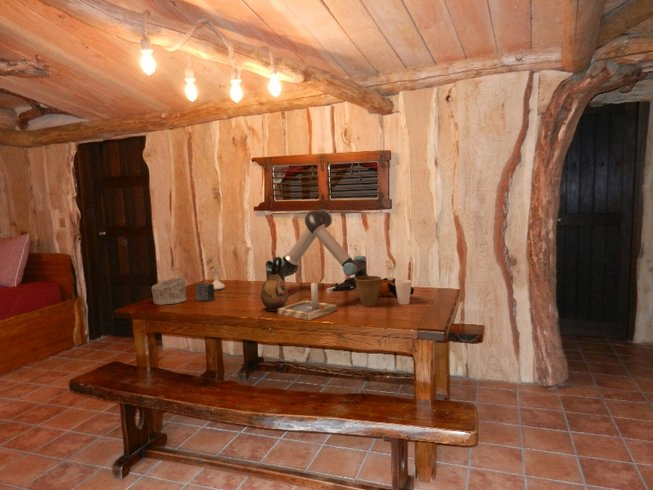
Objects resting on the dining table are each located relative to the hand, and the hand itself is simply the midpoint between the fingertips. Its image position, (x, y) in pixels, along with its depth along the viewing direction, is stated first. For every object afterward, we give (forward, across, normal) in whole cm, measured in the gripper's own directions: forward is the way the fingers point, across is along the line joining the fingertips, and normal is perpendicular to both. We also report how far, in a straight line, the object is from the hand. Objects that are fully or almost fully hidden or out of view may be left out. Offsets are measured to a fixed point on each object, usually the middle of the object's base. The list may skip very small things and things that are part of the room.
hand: (327, 291), depth 252 cm
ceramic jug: (+15, +26, -10) cm, 32 cm away
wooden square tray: (+12, +5, -10) cm, 17 cm away
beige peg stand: (+12, +5, -10) cm, 17 cm away
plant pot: (-18, -15, -10) cm, 26 cm away
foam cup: (-32, -30, -10) cm, 45 cm away
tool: (-42, -19, -10) cm, 47 cm away
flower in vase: (-2, +104, -10) cm, 104 cm away
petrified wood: (+38, +98, -10) cm, 106 cm away
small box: (+23, +82, -10) cm, 86 cm away
